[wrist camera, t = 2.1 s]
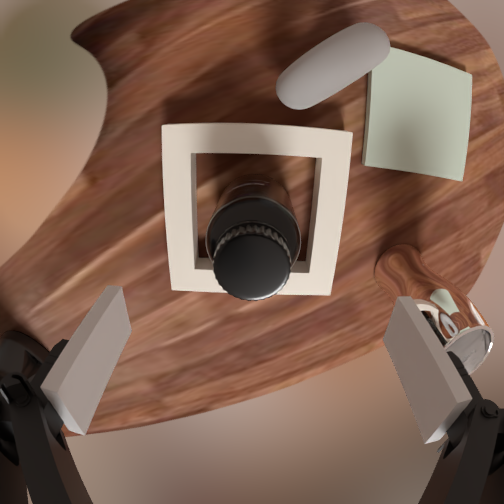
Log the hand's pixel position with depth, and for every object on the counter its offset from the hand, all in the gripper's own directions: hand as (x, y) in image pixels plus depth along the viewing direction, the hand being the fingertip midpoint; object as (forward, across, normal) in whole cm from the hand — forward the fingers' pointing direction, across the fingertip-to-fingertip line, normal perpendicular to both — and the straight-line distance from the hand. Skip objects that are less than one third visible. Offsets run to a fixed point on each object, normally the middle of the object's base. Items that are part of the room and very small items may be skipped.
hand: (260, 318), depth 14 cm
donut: (+17, -5, -13) cm, 22 cm away
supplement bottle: (+17, 0, 0) cm, 17 cm away
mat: (+17, -16, -11) cm, 25 cm away
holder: (+17, 0, 0) cm, 17 cm away
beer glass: (+17, -16, +6) cm, 24 cm away
